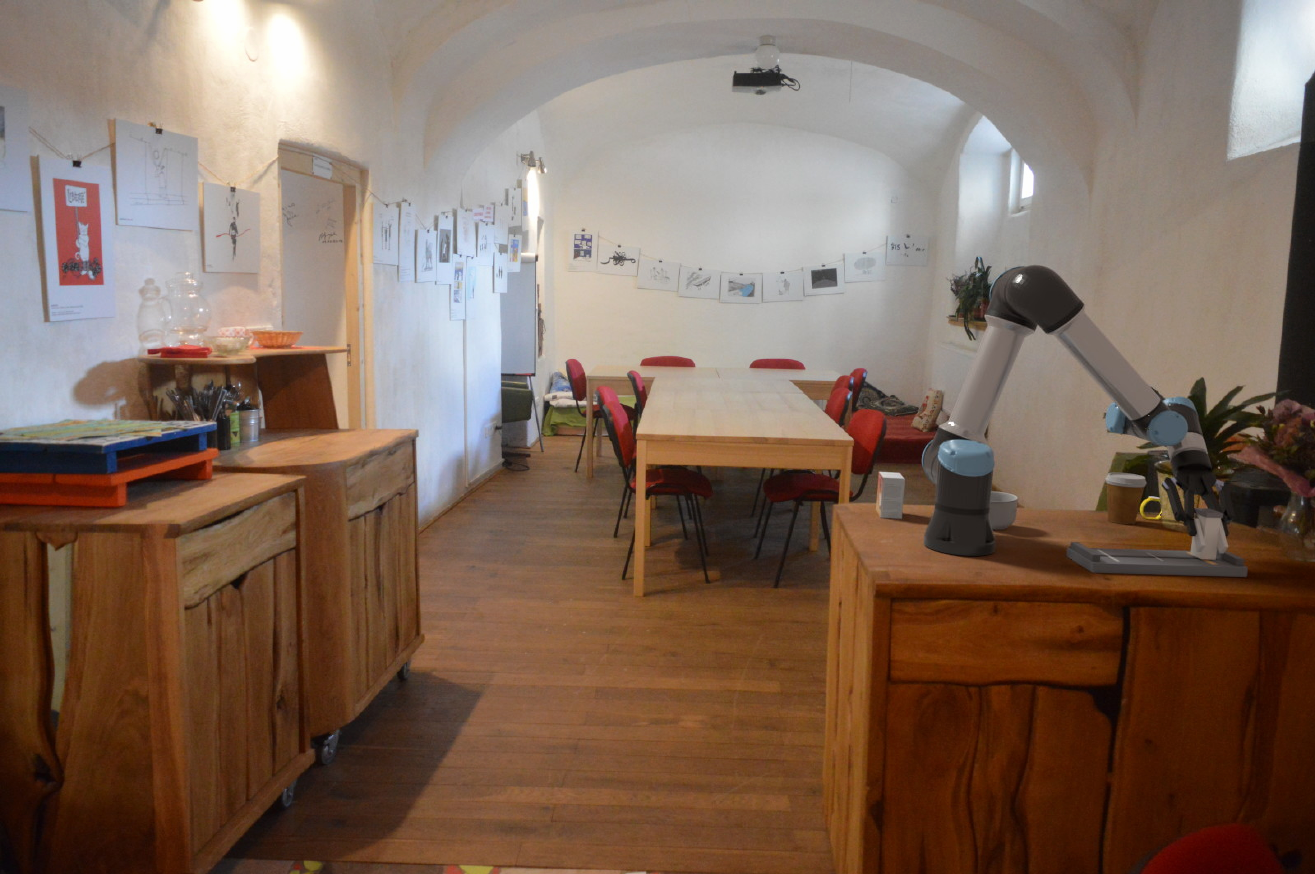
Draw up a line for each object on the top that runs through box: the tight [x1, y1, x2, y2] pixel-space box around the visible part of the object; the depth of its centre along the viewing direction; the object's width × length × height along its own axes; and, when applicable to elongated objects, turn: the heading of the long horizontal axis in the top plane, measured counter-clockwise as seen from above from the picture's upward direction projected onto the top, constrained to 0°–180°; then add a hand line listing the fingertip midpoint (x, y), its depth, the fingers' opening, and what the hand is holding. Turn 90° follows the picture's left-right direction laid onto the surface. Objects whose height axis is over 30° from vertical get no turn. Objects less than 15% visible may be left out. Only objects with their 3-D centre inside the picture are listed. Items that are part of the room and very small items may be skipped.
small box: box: [875, 471, 906, 520], centre depth 233 cm, size 8×6×10 cm
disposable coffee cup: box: [1104, 472, 1148, 525], centre depth 234 cm, size 10×10×12 cm
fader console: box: [1065, 541, 1249, 578], centre depth 194 cm, size 32×12×4 cm, turn 90°
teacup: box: [989, 490, 1019, 531], centre depth 226 cm, size 14×11×8 cm
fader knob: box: [1190, 507, 1223, 560], centre depth 193 cm, size 3×4×10 cm
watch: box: [1139, 495, 1162, 521], centre depth 238 cm, size 6×3×6 cm, turn 89°
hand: (1212, 549), depth 189 cm, fingers closed on fader knob, 4 cm apart
